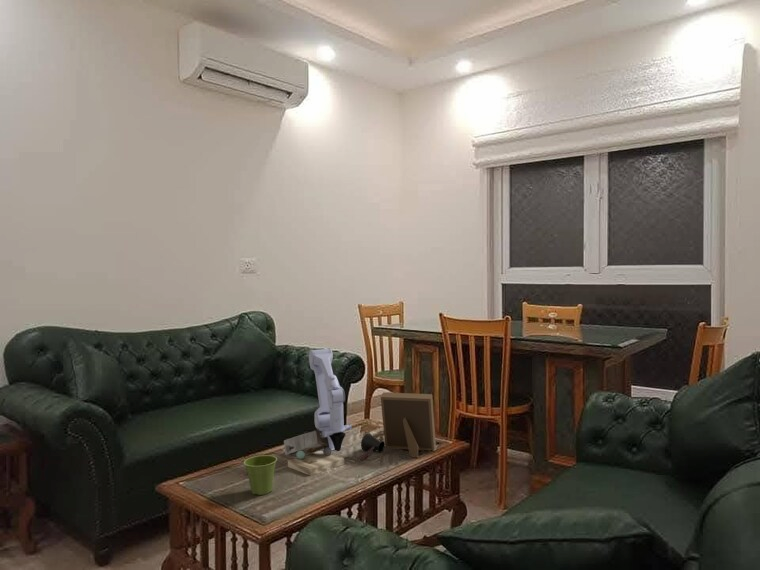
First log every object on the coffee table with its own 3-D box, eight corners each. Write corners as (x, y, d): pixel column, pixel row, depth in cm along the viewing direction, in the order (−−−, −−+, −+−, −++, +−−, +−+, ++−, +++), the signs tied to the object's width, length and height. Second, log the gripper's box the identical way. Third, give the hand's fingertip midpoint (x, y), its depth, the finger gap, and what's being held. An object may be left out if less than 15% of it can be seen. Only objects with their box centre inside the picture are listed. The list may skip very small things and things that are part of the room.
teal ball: (300, 459, 228) (302, 450, 229) (305, 460, 226) (307, 451, 227) (293, 458, 226) (295, 449, 227) (298, 459, 224) (300, 450, 225)
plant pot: (263, 482, 208) (263, 452, 208) (285, 490, 201) (284, 459, 200) (237, 493, 199) (236, 461, 199) (258, 501, 192) (257, 468, 191)
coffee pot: (370, 445, 249) (386, 451, 244) (345, 462, 234) (362, 469, 230) (370, 430, 247) (386, 435, 243) (345, 446, 233) (362, 452, 228)
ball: (325, 456, 231) (328, 449, 233) (331, 457, 229) (334, 449, 231) (320, 453, 229) (323, 445, 231) (325, 453, 227) (328, 445, 229)
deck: (320, 456, 237) (320, 450, 237) (344, 464, 226) (344, 458, 226) (287, 466, 225) (287, 460, 225) (310, 475, 214) (310, 469, 214)
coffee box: (294, 442, 239) (327, 432, 235) (296, 457, 236) (329, 447, 232) (283, 440, 231) (316, 429, 227) (285, 455, 228) (319, 444, 224)
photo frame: (387, 444, 250) (386, 389, 249) (435, 447, 244) (434, 391, 243) (378, 456, 236) (377, 397, 235) (429, 459, 230) (428, 399, 229)
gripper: (329, 423, 225) (330, 456, 226) (355, 416, 236) (356, 448, 236) (318, 420, 230) (319, 453, 231) (344, 413, 241) (345, 444, 241)
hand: (337, 450), depth 234 cm, fingers closed
